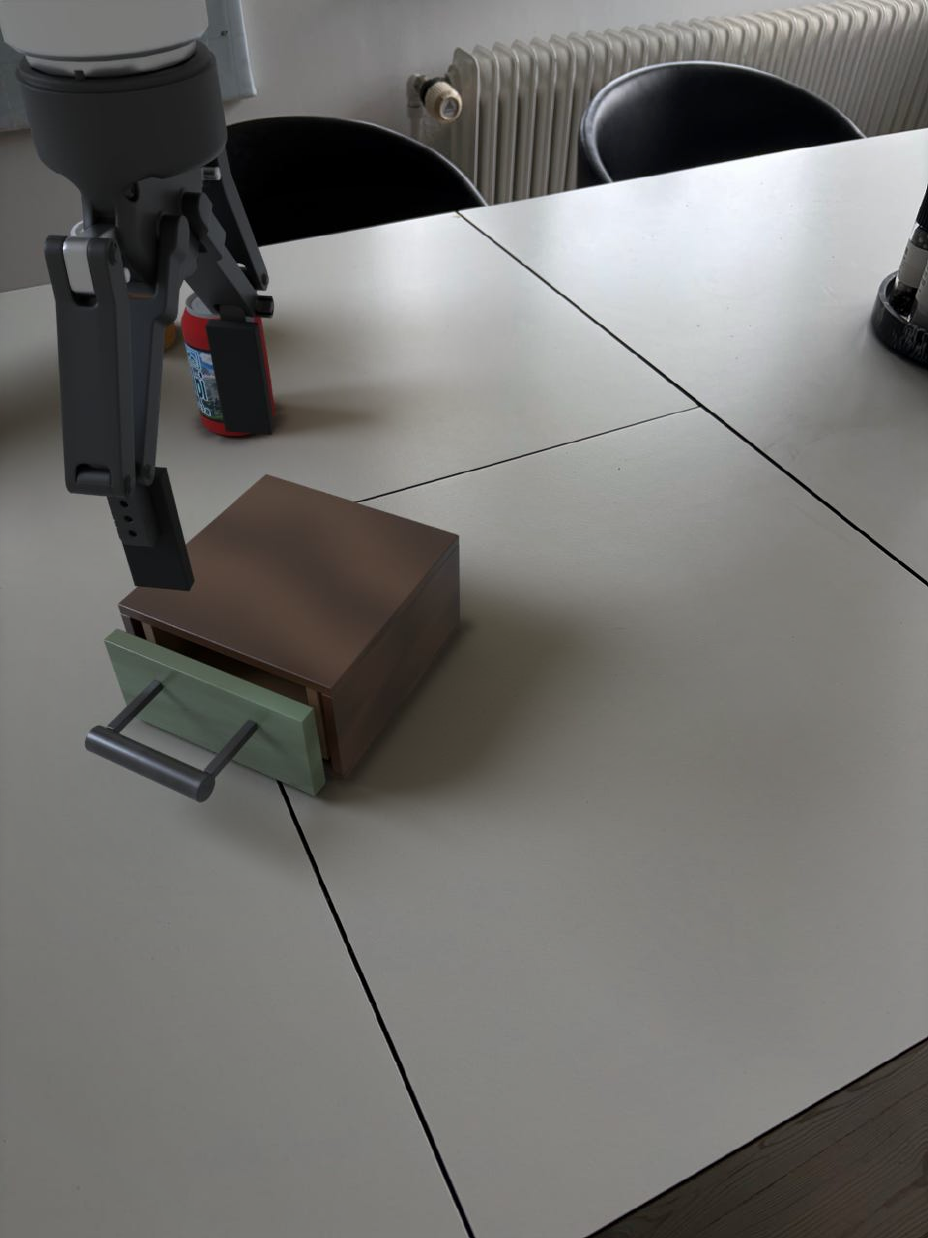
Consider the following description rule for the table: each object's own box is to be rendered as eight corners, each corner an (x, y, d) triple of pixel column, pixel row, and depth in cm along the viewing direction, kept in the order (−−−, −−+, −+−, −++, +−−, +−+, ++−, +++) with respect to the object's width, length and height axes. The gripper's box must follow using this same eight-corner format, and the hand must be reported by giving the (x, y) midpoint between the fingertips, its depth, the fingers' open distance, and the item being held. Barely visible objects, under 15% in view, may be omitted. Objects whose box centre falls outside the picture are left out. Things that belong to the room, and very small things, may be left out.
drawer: (258, 871, 57) (239, 797, 52) (65, 778, 61) (32, 703, 57) (431, 645, 70) (428, 571, 65) (261, 584, 75) (246, 510, 70)
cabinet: (344, 783, 62) (331, 688, 56) (147, 698, 67) (116, 603, 62) (460, 628, 72) (459, 534, 66) (281, 565, 78) (265, 473, 72)
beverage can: (189, 420, 93) (162, 297, 85) (252, 395, 96) (232, 274, 88) (226, 451, 89) (201, 325, 81) (291, 425, 92) (273, 301, 84)
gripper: (64, 165, 29) (200, 677, 43) (295, -21, 47) (337, 384, 61) (-176, 154, 30) (36, 659, 44) (142, -25, 48) (219, 375, 62)
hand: (211, 500), depth 53 cm, fingers open, 13 cm apart
